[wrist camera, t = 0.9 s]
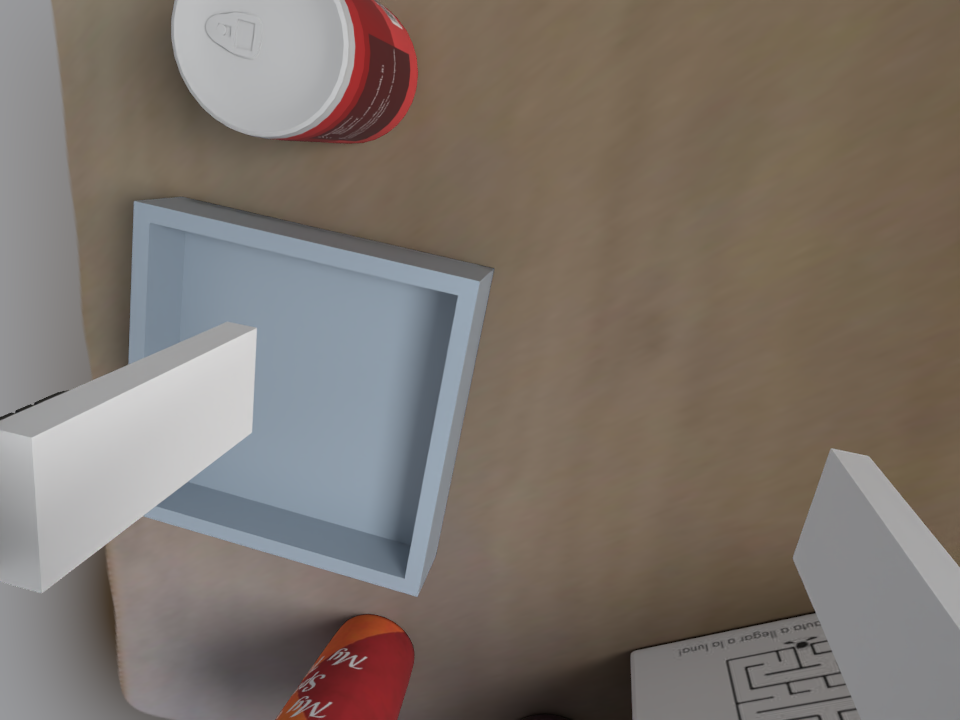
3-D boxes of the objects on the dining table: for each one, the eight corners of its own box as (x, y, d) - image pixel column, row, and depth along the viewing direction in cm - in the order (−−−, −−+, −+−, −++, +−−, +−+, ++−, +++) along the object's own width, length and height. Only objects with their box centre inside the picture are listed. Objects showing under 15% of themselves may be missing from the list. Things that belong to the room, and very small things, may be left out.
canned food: (280, 2, 38) (155, -57, 28) (419, -9, 36) (341, -75, 26) (294, 146, 40) (182, 141, 30) (426, 142, 39) (356, 135, 28)
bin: (182, 196, 42) (133, 200, 38) (494, 268, 40) (480, 281, 36) (166, 479, 49) (123, 510, 44) (435, 556, 46) (417, 596, 42)
